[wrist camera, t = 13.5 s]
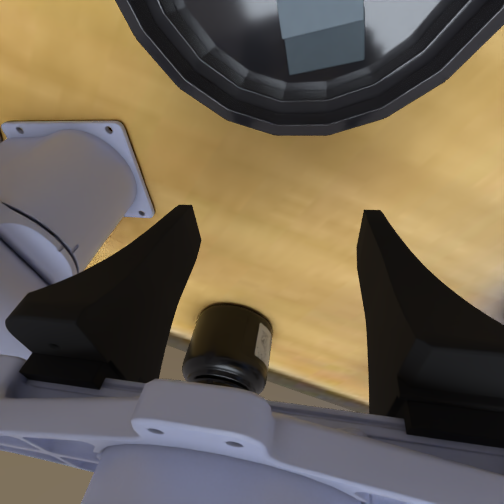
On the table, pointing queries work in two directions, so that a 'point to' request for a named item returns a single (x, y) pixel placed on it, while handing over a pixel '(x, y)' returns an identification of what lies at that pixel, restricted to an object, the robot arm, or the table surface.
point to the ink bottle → (229, 349)
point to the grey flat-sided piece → (322, 33)
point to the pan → (314, 82)
